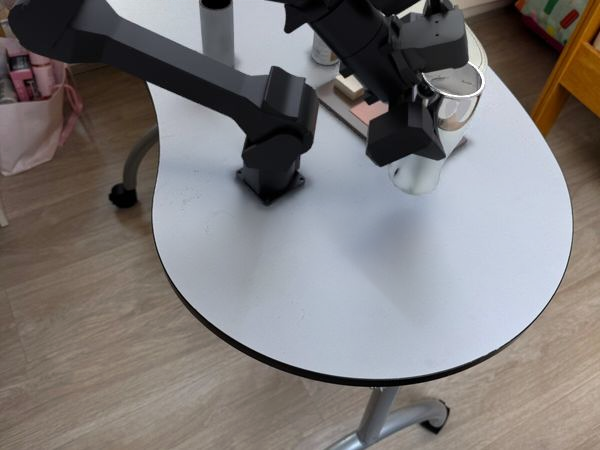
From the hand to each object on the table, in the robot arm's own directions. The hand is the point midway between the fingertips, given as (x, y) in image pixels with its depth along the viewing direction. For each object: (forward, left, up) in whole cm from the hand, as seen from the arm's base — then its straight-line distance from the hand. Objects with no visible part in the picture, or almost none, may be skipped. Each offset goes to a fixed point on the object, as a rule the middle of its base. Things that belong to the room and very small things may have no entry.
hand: (441, 135), depth 64 cm
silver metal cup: (-1, +1, -7) cm, 7 cm away
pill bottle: (+9, +28, -12) cm, 32 cm away
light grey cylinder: (-5, +36, -11) cm, 38 cm away
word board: (+7, +13, -11) cm, 19 cm away
